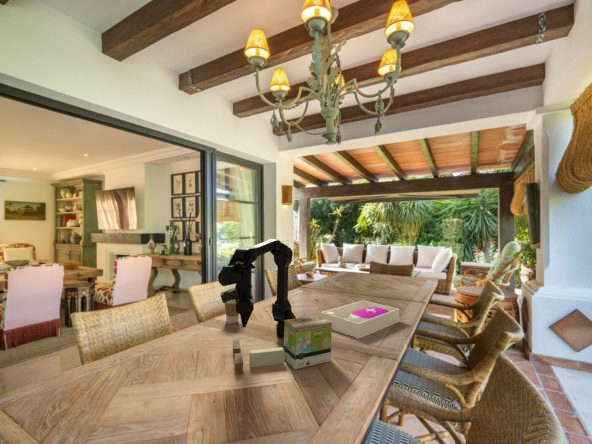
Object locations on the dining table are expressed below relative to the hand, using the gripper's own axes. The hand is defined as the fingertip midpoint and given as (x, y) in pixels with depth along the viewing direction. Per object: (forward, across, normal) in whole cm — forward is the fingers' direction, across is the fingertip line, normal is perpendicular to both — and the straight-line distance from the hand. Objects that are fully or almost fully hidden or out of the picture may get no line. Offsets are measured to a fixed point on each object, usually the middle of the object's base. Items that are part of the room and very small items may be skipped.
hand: (243, 323), depth 111 cm
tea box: (+13, +7, +23) cm, 27 cm away
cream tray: (+13, -26, +60) cm, 66 cm away
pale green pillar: (+13, +7, +8) cm, 17 cm away
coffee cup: (+13, -42, -4) cm, 44 cm away
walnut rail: (+13, +2, -2) cm, 13 cm away
